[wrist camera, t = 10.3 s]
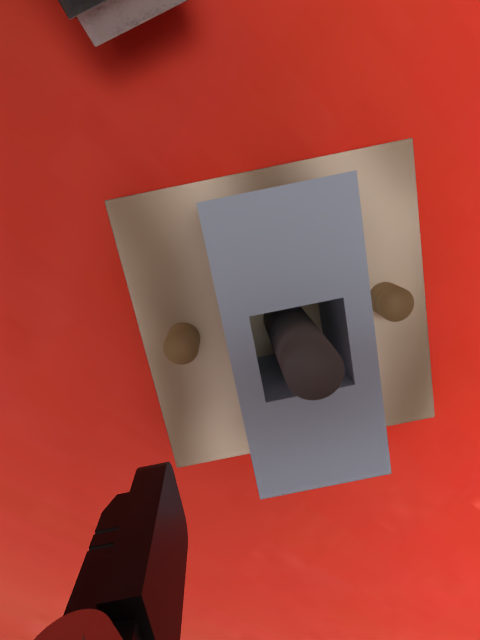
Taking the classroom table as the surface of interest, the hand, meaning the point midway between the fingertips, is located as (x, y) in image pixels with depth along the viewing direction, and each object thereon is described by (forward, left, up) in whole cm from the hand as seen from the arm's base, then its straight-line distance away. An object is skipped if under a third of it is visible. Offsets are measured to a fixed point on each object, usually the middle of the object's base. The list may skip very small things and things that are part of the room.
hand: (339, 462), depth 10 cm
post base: (0, +1, -13) cm, 13 cm away
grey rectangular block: (0, +1, -11) cm, 11 cm away
